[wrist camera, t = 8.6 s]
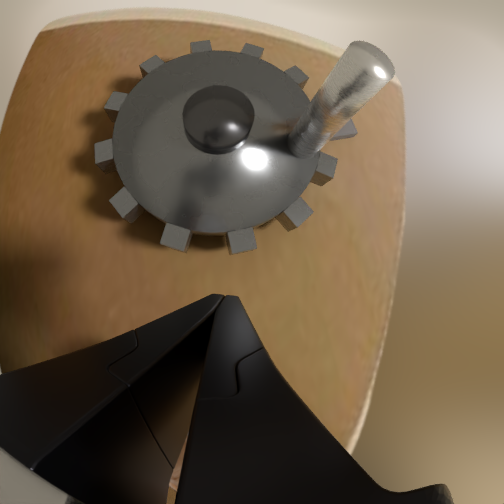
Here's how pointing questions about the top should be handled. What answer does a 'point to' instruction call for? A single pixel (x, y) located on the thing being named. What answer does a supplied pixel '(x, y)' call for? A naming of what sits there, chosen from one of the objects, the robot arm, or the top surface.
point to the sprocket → (230, 139)
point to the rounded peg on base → (345, 131)
